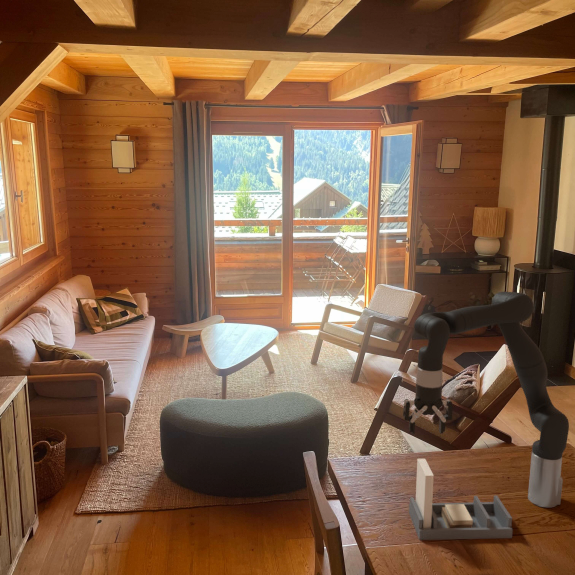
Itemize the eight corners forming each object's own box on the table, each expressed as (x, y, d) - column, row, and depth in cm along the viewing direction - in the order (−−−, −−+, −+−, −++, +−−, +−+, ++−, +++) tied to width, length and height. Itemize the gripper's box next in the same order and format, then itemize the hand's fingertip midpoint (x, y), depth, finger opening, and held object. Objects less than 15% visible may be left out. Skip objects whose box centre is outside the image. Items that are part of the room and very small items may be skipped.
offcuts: (462, 514, 185) (463, 502, 184) (473, 534, 175) (474, 521, 174) (441, 515, 185) (441, 502, 184) (450, 534, 175) (451, 521, 174)
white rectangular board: (422, 515, 184) (425, 458, 180) (430, 535, 175) (433, 475, 170) (415, 515, 184) (417, 458, 180) (422, 535, 175) (425, 475, 170)
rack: (494, 513, 187) (495, 493, 186) (511, 540, 173) (513, 520, 172) (408, 514, 187) (409, 495, 185) (419, 542, 173) (420, 522, 171)
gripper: (449, 377, 173) (446, 426, 177) (402, 377, 173) (400, 427, 177) (457, 386, 166) (453, 438, 170) (407, 386, 166) (405, 438, 169)
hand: (426, 432), depth 173 cm, fingers open, 8 cm apart
